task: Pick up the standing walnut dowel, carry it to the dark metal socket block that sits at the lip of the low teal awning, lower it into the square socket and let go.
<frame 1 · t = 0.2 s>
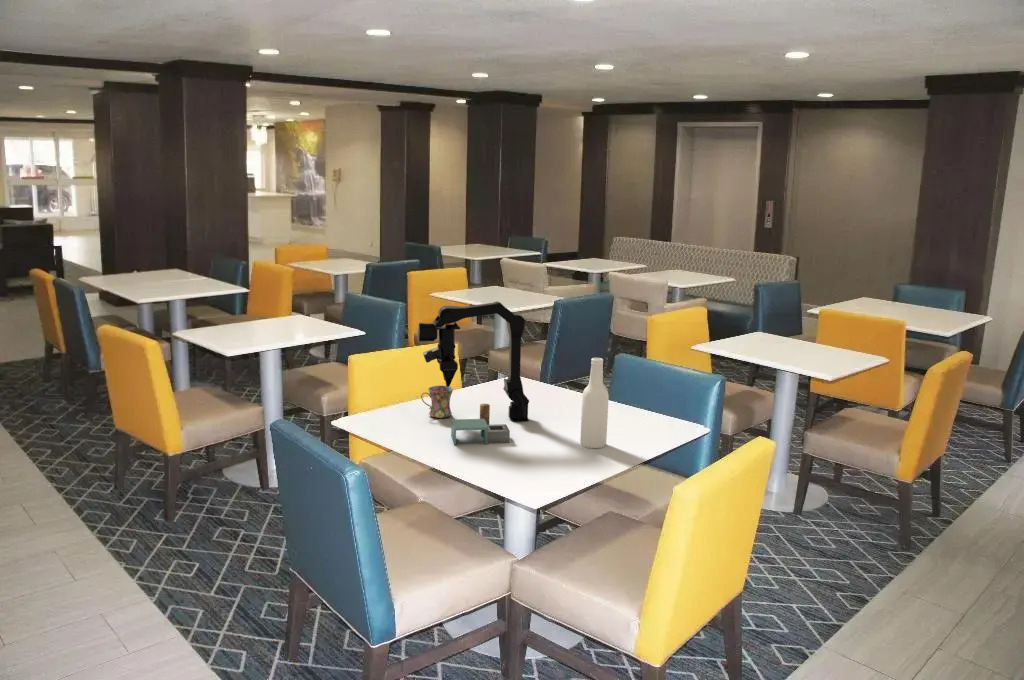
hand: (446, 383, 302), 14 cm above the table, tool pointing down, fingers open, 9 cm apart
peg: (484, 426, 300), on the table
alcohol: (593, 445, 282), on the table
station: (478, 439, 285), on the table
mug: (436, 416, 311), on the table
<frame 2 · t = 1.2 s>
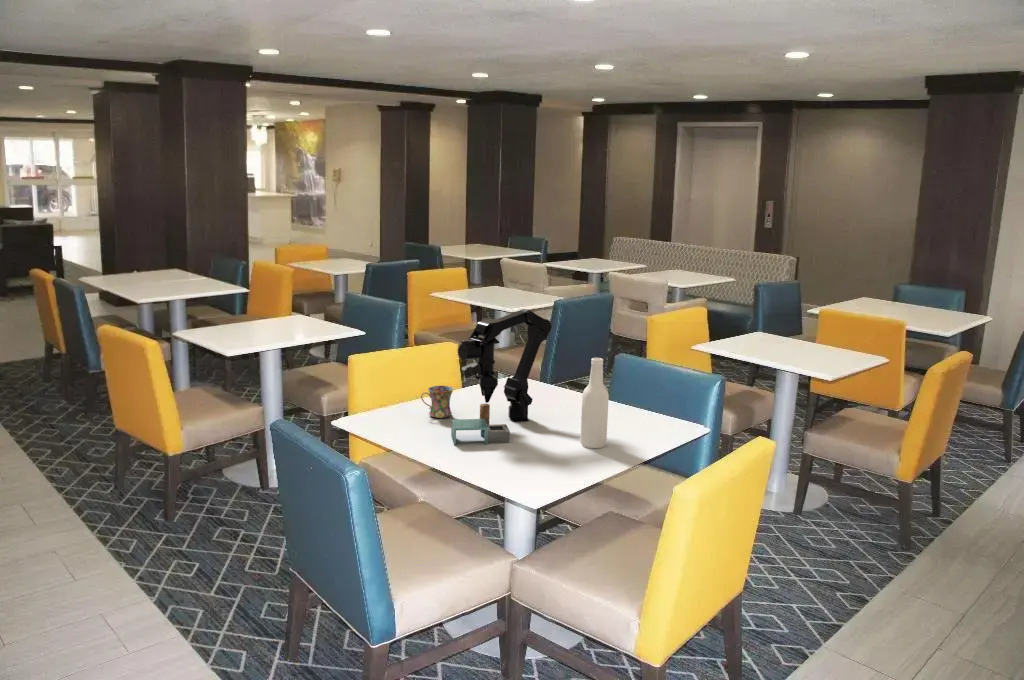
hand: (485, 399, 298), 10 cm above the table, tool pointing down, fingers open, 9 cm apart
nothing on the table moved.
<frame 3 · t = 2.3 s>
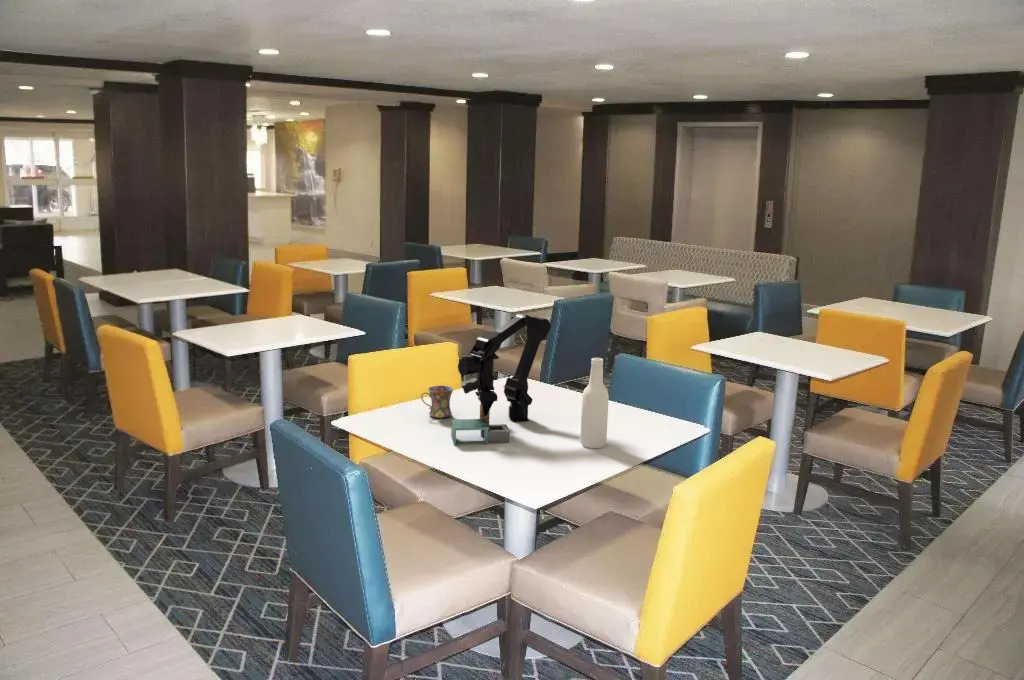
hand: (484, 414, 299), 5 cm above the table, tool pointing down, fingers closed on peg, 3 cm apart
peg: (484, 426, 300), on the table, touching gripper
everything else where it was.
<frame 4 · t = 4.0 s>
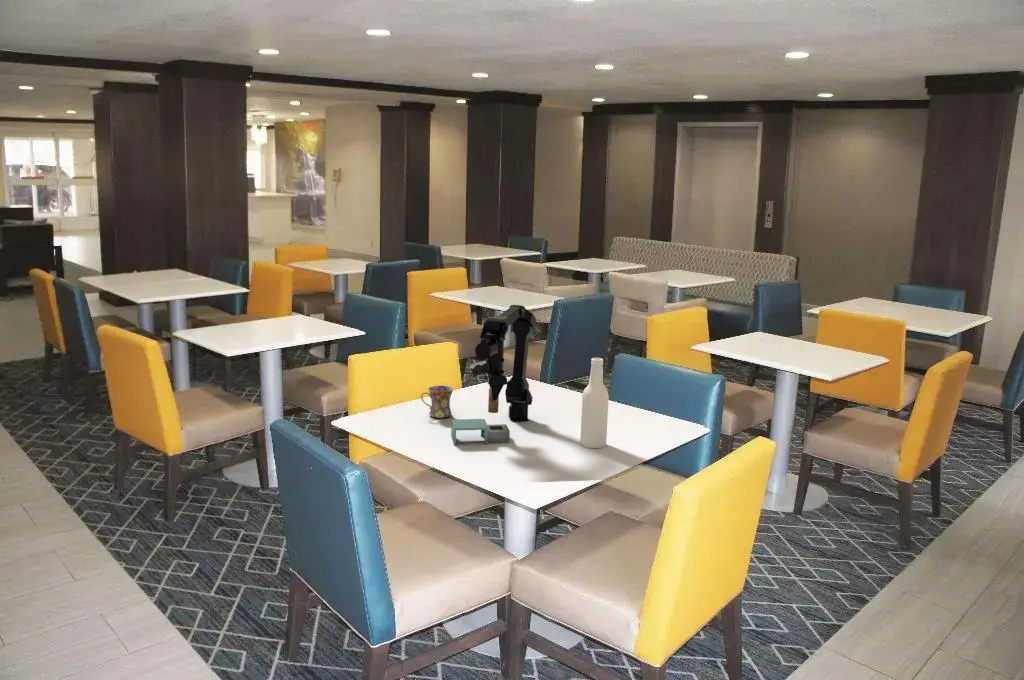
hand: (493, 399, 286), 13 cm above the table, tool pointing down, fingers closed on peg, 3 cm apart
peg: (493, 411, 287), point 9 cm above the table, touching gripper
everything else where it was.
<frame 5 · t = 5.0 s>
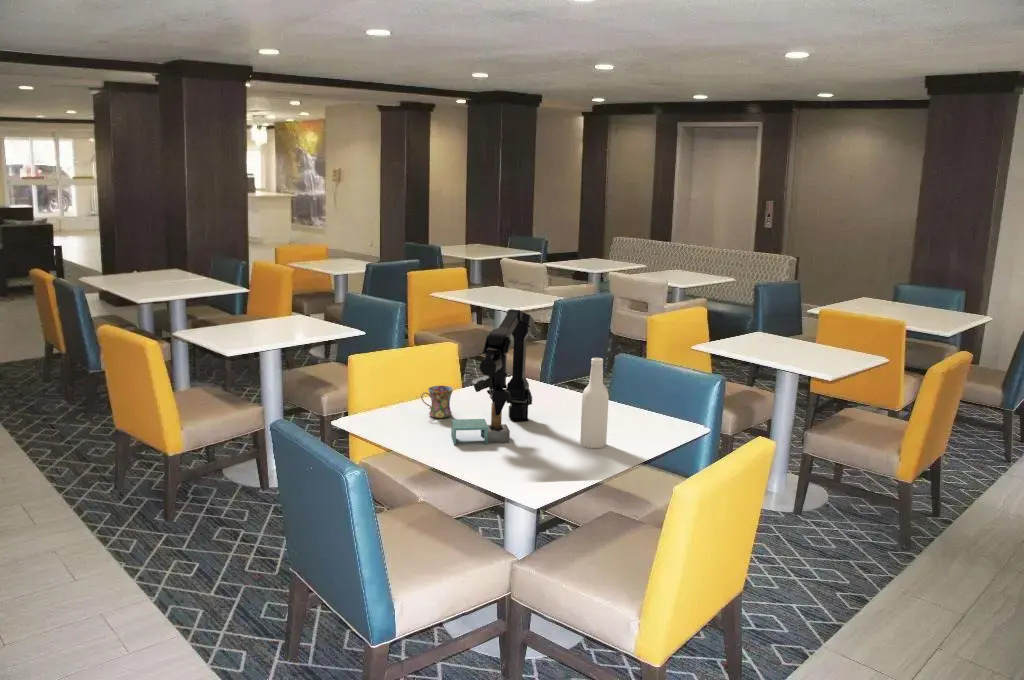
hand: (496, 413, 284), 9 cm above the table, tool pointing down, fingers closed on peg, 3 cm apart
peg: (496, 426, 285), point 5 cm above the table, touching gripper
everything else where it was.
when the fingers open (6 cm above the table, at t = 5.8 s): peg drops 2 cm, resting in station.
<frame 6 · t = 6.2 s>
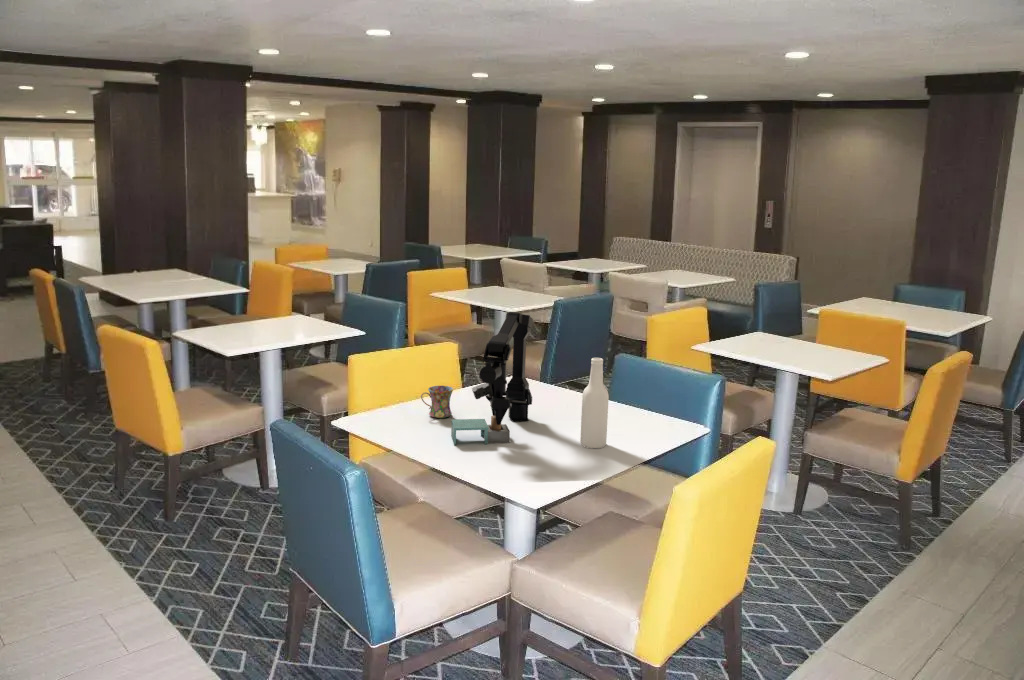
hand: (496, 420, 284), 6 cm above the table, tool pointing down, fingers open, 8 cm apart
peg: (495, 439, 286), resting in station
everything else where it was.
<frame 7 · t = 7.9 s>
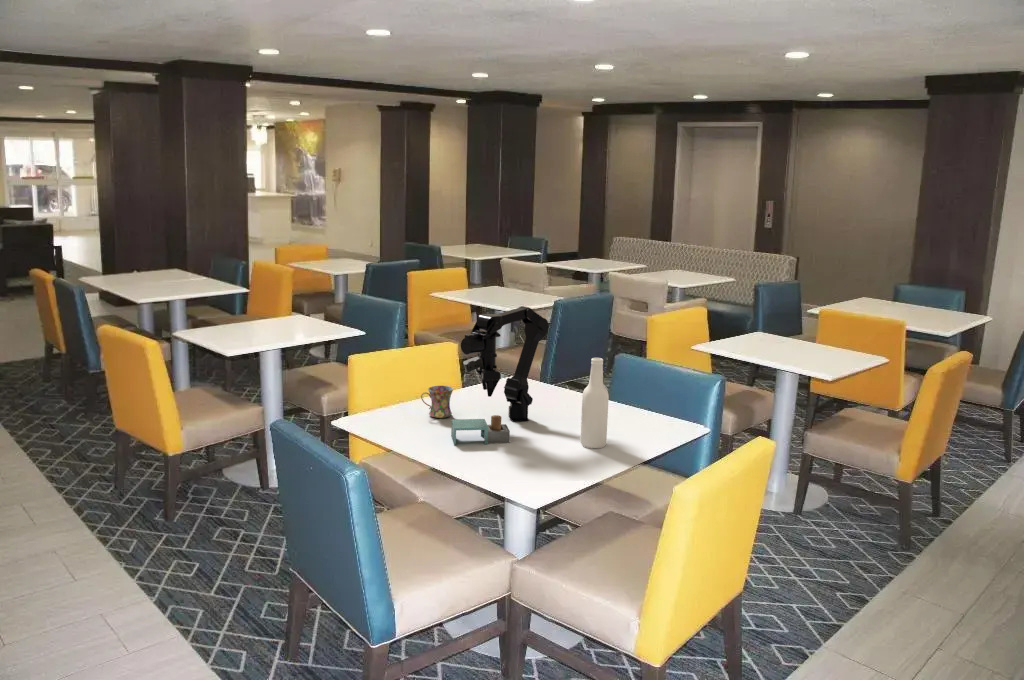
hand: (487, 393, 296), 13 cm above the table, tool pointing down, fingers open, 9 cm apart
nothing on the table moved.
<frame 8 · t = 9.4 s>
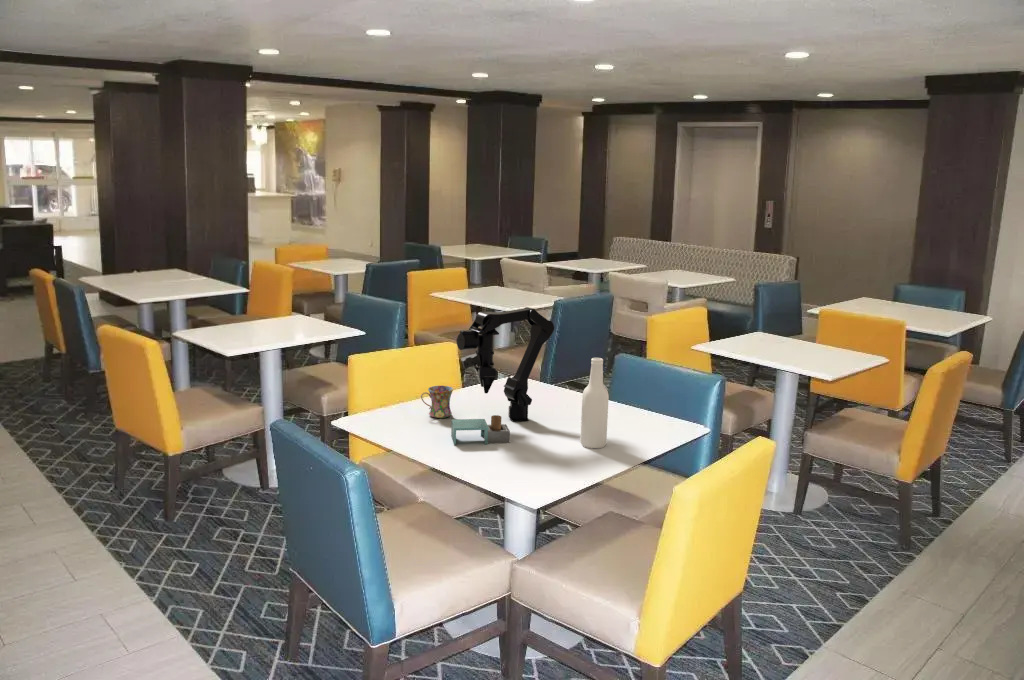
hand: (484, 389, 299), 13 cm above the table, tool pointing down, fingers open, 9 cm apart
nothing on the table moved.
at the end: peg 0.1 cm from the target spot on the station, point 0.0 cm above the station's base; peg tilted 0°; the gripper is holding nothing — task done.
